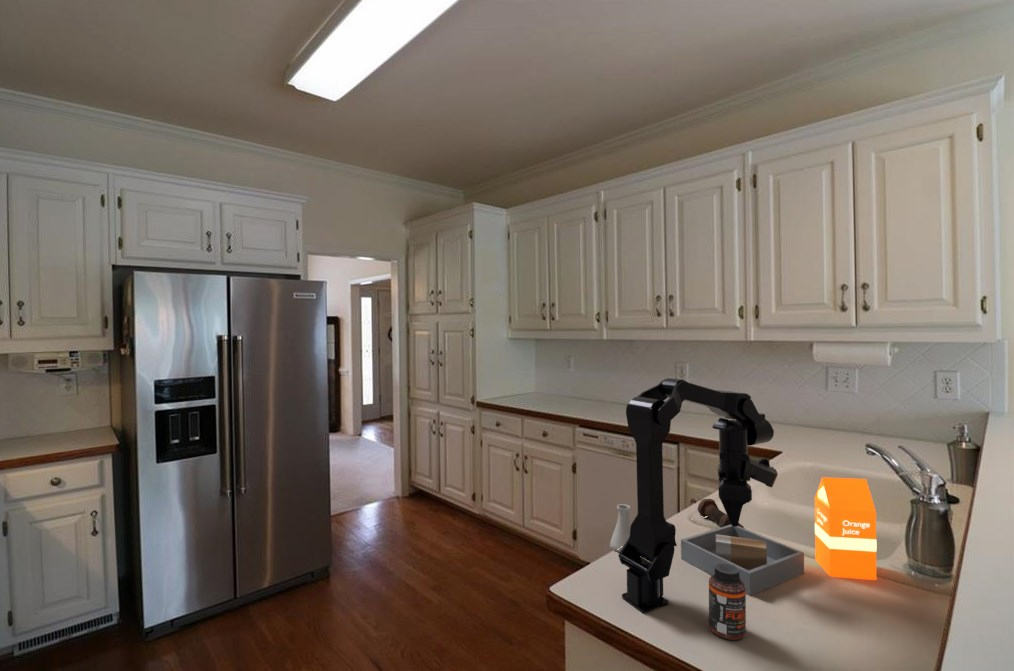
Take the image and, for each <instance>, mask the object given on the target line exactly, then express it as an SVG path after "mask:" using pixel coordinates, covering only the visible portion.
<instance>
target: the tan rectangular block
mask: <svg viewBox="0 0 1014 671" xmlns="http://www.w3.org/2000/svg"><path fill="white" fill-rule="evenodd" d="M716 555H717V556H719V557H722V558H724V559H726V560H728V561H730V562H732V563H734V564H736V565H738V566H740V567H742V568H747V569H754V568H757V567H760V566H762V565H765V564H767V548H766V544H765V541H763V540H755V539H748V538H740V537H733V536H725V535H718V534H716Z"/></svg>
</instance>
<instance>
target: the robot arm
mask: <svg viewBox="0 0 1014 671" xmlns="http://www.w3.org/2000/svg"><path fill="white" fill-rule="evenodd" d="M666 399H667V400H666ZM665 400H666V401H665ZM683 402H688V403H691V404H695V405H699V406H703V407H706V408H708V410H709V411H710V412H712V413H713V414H715V415H717V416H720V418H718V420H717V421H716V422H714V423H713V425H712V429H714V430H718V437H719V439H718V440H719V441H718V444H719V445H718V449H719V450H718V456H719V457H718V458H719V461H718V465H717V467H718V468H717V470H718V472H717V473H718V481H719V482H718V498H719V499H720V502H721V503H722V506H723V508H724V511H725V514H727V516H728V518H729V520H730V523H731V525H732V526H735V527H737V526H738V522H740V518H741V514H742V510H743V506H744V505H745V504H747V503H751V501H752V499H753V497H752V496H753V490H752V485H750V484H749V483H748V482H751V479H752V480H754V481H756V482H759V483H761V484H763V485H765V486H767V487H769V488H773V486H774V485H775V482H776V480H777V477H778V475H779V473H778V471H777V469H776V468H774V466H771V465H770V464H771V463H770V460H769V459H767V458H765V457H763V456H761V457H760V458H759V459H751V458H750V453H749V452H748V451H749V450H748V449H749V448H748V446H755V445H760V444H764V443H768V442H770V441H771V440H772V439H773V438H774V434H775V432H774V428H773V426H772V424H771V423H770V422H769V420H767V418H766V414H765V413H761V412H759V411H758V410H757V407H756V405H755V404H754V402H753V400H752V396H751V395H750V394H748V393H746V392H738V391H737V392H736V391H729V390H715V389H712V388H709V387H705V386H701V385H698V384H696V383H695V384H694V383H691V382H688V381H686V380H685V379H681V378H679V379H678V378H670V377H668V378H664V379H663V380H661V382H660V381H659V383H657V385H654V386H653V387H649V388H648V389H647V390H644V391H642V392H640V393H639V395H637V396H635V397H633V398H632V399H631V400H630V401H629V403H627V404H626V407H625V416H626V423H627V428H628V431H629V432H630V434H631V436H632V437H633V439H634V441H635V449H636V450H635V452H636V489H637V490H636V494H637V496H636V497H637V500H636V501H637V513H636V514H637V515H636V516H635V518H634V519H633V520H632V521H631V528H630V537H629V538H628V540H627V542H626V543H625V545H624V546H623V548H622V550H621V551H620V552H618V560H619V561H620V564H622V565H624V566H625V567H628V568H627V569H626V592H624V593H621V598H622V599H623V600H625V601H627V602H628V603H630V605H632V606H633V607H634V608H635V609H637V610H638V611H640V612H642V613H645V614H646V613H648V612H650V611H653V610H656V609H659V608H661V607H664V606H667V605H669V600H667V599H666V598H665V597H664V578H666V577H670V576H669V575H670V573H671V567H672V563H673V558H674V554H675V547H677V546H678V545H677V542H676V531H677V530H676V526H675V524H673V523H670V522H669V521H667V520H666V518H665V512H664V511H665V510H664V507H665V506H664V468H663V461H664V460H663V443H664V442H665V440H666V438H667V436H668V435H669V433H670V432H671V424H672V420H673V419H674V418H675V417H676V416H677V415H678V414H679V413H680V412H681V408H682V405H683ZM723 417H724V418H723ZM729 419H730V420H729Z"/></svg>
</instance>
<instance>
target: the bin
mask: <svg viewBox="0 0 1014 671" xmlns="http://www.w3.org/2000/svg"><path fill="white" fill-rule="evenodd" d="M744 528H745V527H744ZM744 528H742V527H739V526H737V527H735V526H732V525H727V526H724V527H717V528H715V529H711V530H709V531H708V530H707V531H704V532H702V533H699V534H695V535H692V536H688V537H685V538H682V539H680V557H681V558H680V559H681V560H682V561H684V562H686V563H688V564H690V565H691V566H692V567H695V568H697V569H699V570H701V571H702V572H704V573H707V574H708V575H710V576H712V575H714V574H715V572H714V571H715V565H716V564H718V563H728V564H732V565H734V566H736V567H737V568H738V569H739V575H740V578H739V579H741V580H742V581H743V583H744V584H745V589H746V595H747V596H749V597H750V596H753V595H756V594H758V593H760V592H762V591H765V590H767V589H771V588H772V587H776V586H778V585H780V584H782V583H785V582H787V581H790V580H792V579H794V578H797V577H799V576H801V575H802V576H803V575H804V574H805V553H804V552H803V551H801V550H799V549H795V548H793V547H790V546H789V545H786V544H783V543H781V542H779V541H776V540H773V539H771V538H768V537H766V536H764V535H761V534H759V533H756V532H753V531H751V530H749V529H746V528H745V529H744ZM716 534H718V535H725V536H733V537H740V538H748V539H755V540H763V541H765V544H766V548H767V564H765V565H762V566H760V567H757V568H754V569H747V568H742V567H740V566H738V565H736V564H734V563H732V562H730V561H728V560H726V559H724V558H722V557H719V556H717V555H716Z"/></svg>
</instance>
